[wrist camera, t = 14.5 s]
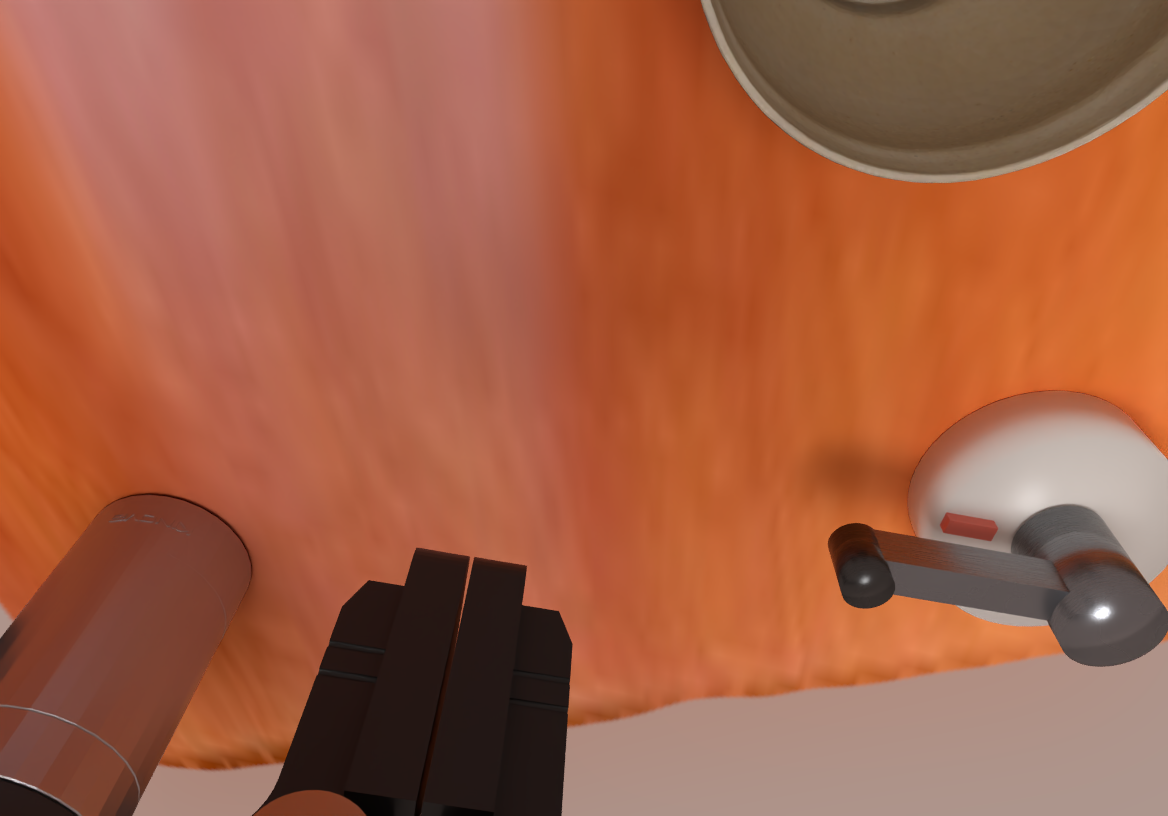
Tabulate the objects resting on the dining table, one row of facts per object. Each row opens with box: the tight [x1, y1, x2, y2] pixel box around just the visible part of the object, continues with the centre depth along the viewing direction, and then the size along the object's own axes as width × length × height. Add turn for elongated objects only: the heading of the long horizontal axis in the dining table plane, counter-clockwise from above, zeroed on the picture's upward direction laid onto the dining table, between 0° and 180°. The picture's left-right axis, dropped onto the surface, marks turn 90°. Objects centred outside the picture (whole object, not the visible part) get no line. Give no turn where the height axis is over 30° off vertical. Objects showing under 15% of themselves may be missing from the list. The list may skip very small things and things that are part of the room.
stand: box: [907, 391, 1168, 626], centre depth 44 cm, size 12×12×5 cm
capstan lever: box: [828, 506, 1168, 667], centre depth 40 cm, size 14×4×6 cm, turn 79°
